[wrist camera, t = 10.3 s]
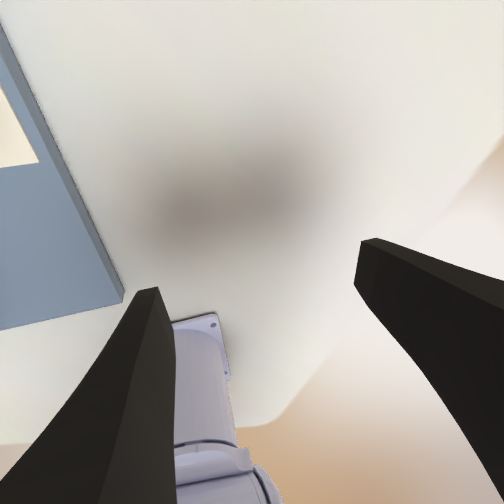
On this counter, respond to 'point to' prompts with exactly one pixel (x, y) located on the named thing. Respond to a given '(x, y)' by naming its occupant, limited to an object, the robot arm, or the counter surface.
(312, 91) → the counter surface
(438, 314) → the robot arm
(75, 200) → the board
